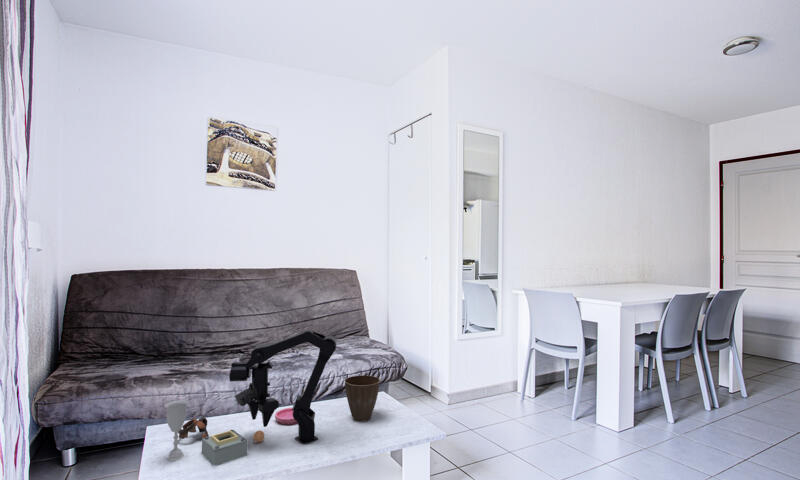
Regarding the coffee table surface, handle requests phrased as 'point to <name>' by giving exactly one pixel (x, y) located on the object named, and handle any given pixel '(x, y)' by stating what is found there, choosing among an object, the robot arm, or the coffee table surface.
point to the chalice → (176, 424)
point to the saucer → (285, 416)
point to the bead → (258, 436)
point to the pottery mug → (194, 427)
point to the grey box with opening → (224, 447)
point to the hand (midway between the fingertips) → (259, 422)
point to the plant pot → (362, 395)
